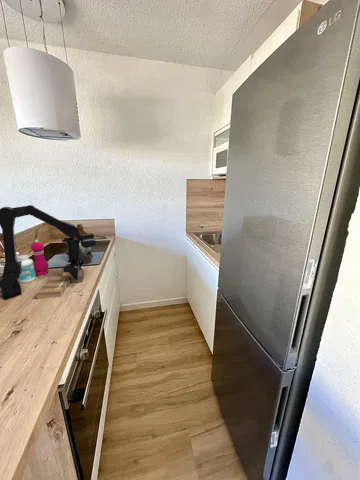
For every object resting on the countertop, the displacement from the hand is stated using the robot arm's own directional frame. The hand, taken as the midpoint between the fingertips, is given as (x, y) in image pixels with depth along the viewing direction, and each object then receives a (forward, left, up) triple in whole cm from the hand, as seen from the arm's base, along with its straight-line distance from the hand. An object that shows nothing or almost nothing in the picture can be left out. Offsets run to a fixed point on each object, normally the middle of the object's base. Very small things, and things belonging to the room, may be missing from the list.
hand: (77, 277), depth 109 cm
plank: (-9, +2, -2) cm, 10 cm away
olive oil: (+16, +24, -2) cm, 28 cm away
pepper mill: (-8, +25, -2) cm, 26 cm away
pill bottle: (-16, +22, -2) cm, 27 cm away
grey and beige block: (-1, +1, -2) cm, 3 cm away
